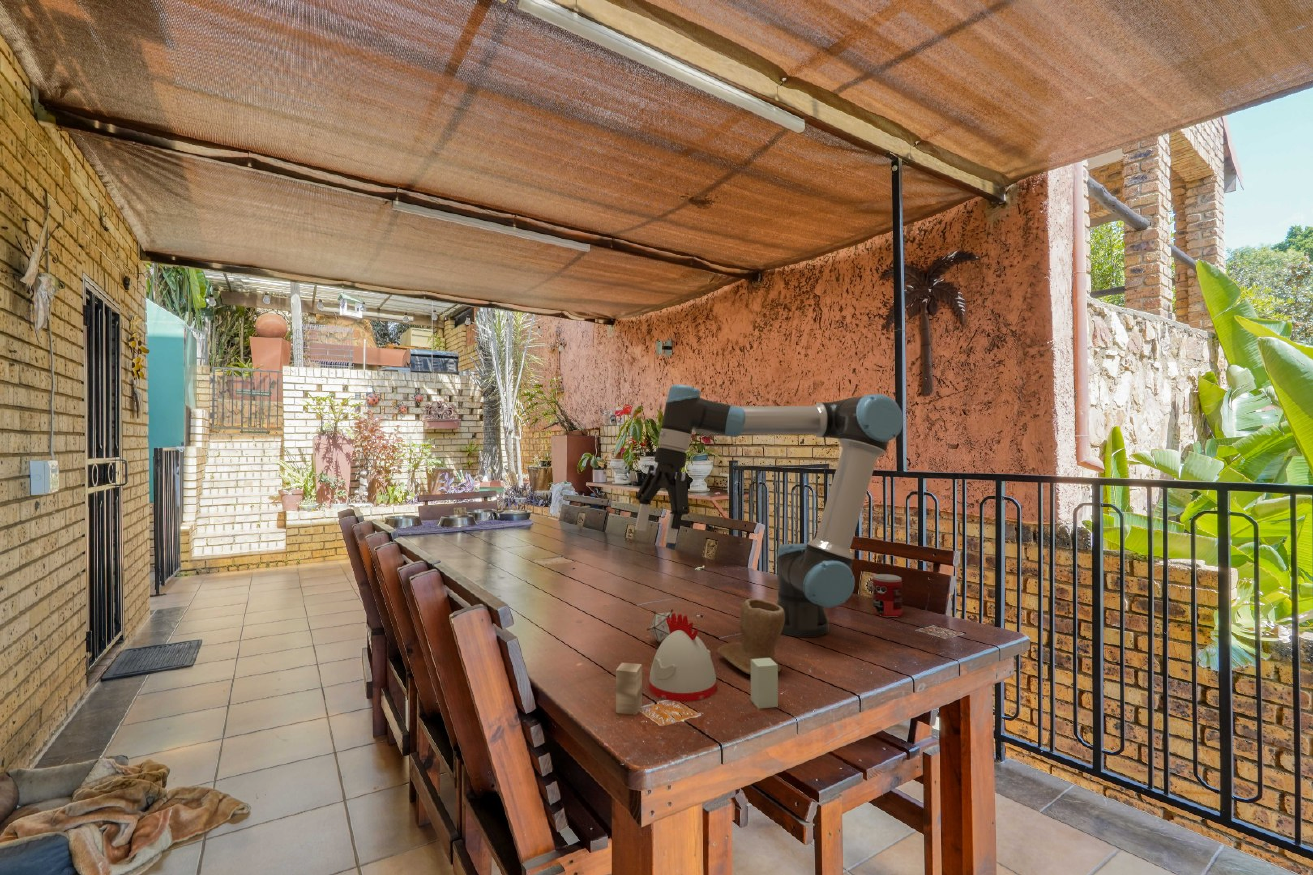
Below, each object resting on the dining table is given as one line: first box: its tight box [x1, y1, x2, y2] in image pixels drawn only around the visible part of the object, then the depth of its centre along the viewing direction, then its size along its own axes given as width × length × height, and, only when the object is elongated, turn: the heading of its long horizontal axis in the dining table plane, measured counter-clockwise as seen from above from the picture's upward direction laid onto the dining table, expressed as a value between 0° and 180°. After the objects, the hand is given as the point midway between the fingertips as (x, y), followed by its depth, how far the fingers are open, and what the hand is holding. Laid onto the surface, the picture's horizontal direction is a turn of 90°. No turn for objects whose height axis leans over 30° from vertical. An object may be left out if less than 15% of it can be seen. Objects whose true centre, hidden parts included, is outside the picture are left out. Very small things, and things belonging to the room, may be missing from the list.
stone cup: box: [717, 598, 785, 676], centre depth 135 cm, size 15×12×15 cm
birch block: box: [615, 662, 643, 716], centre depth 114 cm, size 4×4×8 cm
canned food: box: [872, 573, 903, 617], centre depth 176 cm, size 8×8×11 cm
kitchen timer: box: [648, 612, 717, 702], centre depth 124 cm, size 14×14×15 cm
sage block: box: [750, 658, 779, 710], centre depth 116 cm, size 4×4×8 cm
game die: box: [646, 608, 677, 647], centre depth 152 cm, size 9×8×10 cm
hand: (654, 536), depth 143 cm, fingers open, 13 cm apart
